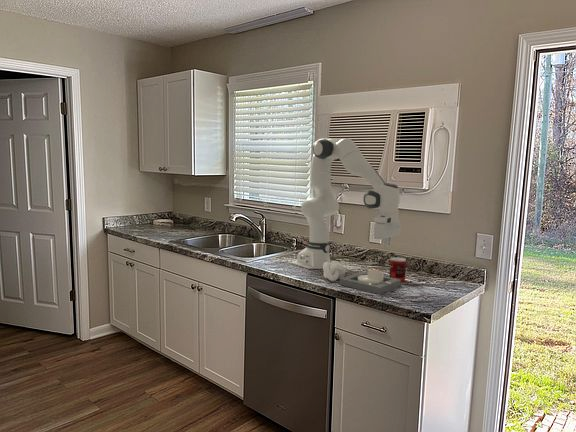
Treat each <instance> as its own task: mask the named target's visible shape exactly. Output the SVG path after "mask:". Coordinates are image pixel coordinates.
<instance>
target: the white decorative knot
mask: <svg viewBox="0 0 576 432" xmlns="http://www.w3.org/2000/svg"><path fill="white" fill-rule="evenodd" d="M322 271H323V277H324V278H325V279H327V280H329V281H331V282H335V281H337V280H340V278H343V277H346V276H345V275H346V274H347V273H346V272H347V270H346V267H345V266H344V265H343V264H342V263H340V262H339V261H338V260H330V263H329V262H325V263H324V264H323V269H322Z"/></svg>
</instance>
